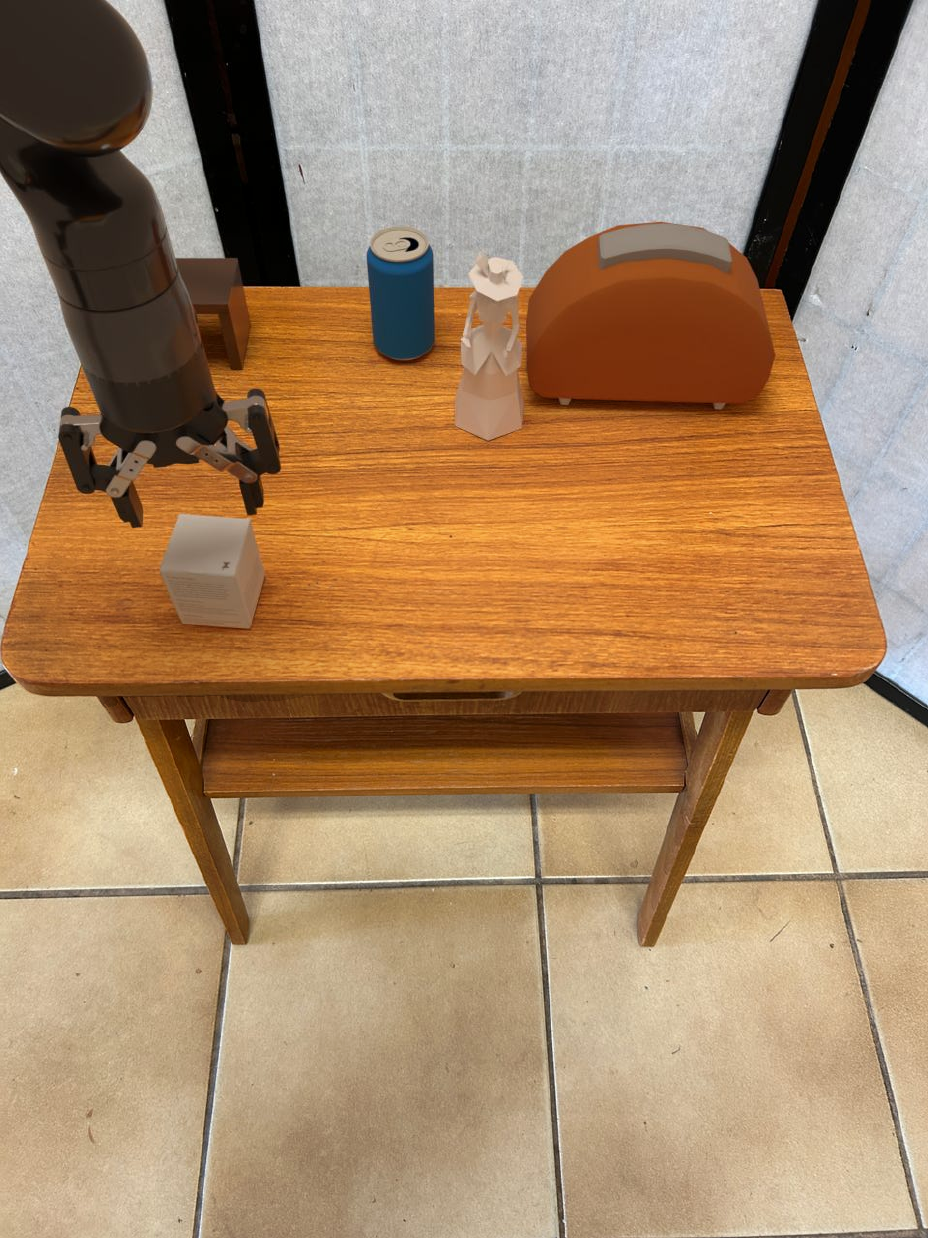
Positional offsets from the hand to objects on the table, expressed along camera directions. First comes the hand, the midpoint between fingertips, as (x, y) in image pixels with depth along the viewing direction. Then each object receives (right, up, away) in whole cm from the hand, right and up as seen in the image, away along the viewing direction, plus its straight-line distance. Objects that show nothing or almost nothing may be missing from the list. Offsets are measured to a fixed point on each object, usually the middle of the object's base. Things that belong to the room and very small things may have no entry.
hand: (196, 513), depth 72 cm
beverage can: (+14, +21, +28) cm, 38 cm away
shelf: (-8, +21, +28) cm, 35 cm away
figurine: (+23, +12, +22) cm, 34 cm away
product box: (0, -6, +9) cm, 11 cm away
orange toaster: (+38, +16, +25) cm, 49 cm away
